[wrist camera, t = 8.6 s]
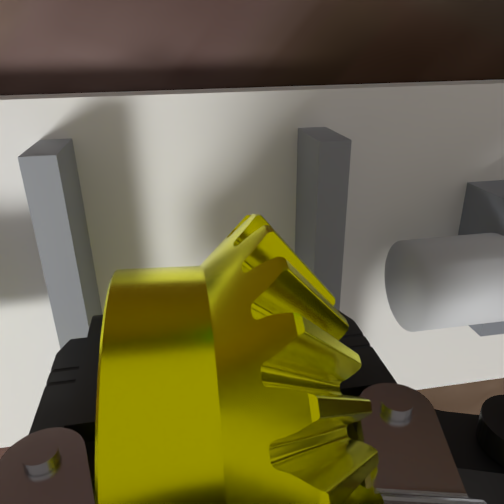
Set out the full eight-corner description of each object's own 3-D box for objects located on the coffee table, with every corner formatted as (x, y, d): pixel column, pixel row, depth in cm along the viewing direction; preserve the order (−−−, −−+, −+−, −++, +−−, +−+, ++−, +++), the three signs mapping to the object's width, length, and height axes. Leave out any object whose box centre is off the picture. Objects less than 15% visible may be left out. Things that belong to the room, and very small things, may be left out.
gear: (122, 165, 10) (32, 450, 3) (284, 164, 11) (508, 401, 4) (143, 434, 14) (123, 870, 7) (267, 421, 14) (372, 806, 7)
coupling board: (-180, 446, 16) (-299, 586, 12) (-362, 106, 11) (-660, 143, 7) (514, 355, 20) (606, 436, 16) (588, 76, 15) (744, 88, 11)
